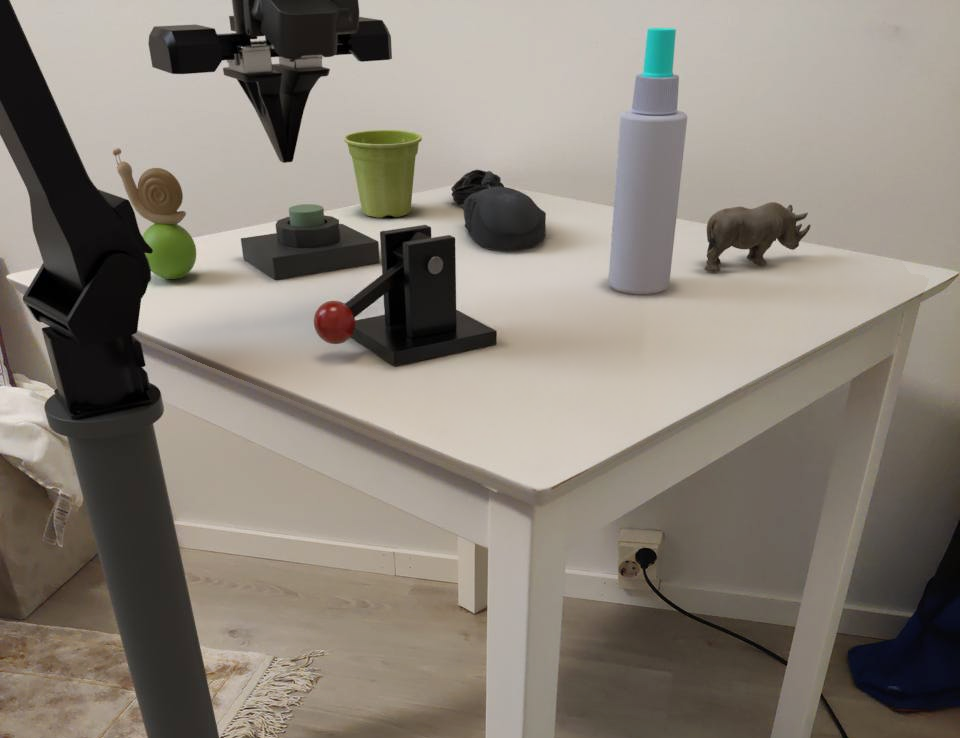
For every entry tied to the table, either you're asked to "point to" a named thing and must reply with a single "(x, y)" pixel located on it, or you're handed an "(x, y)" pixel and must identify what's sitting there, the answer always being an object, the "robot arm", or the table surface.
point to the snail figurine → (161, 219)
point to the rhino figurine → (752, 231)
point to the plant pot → (384, 170)
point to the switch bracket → (421, 304)
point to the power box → (309, 249)
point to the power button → (306, 215)
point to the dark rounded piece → (498, 213)
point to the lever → (357, 302)
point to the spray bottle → (648, 174)
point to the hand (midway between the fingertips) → (286, 161)
